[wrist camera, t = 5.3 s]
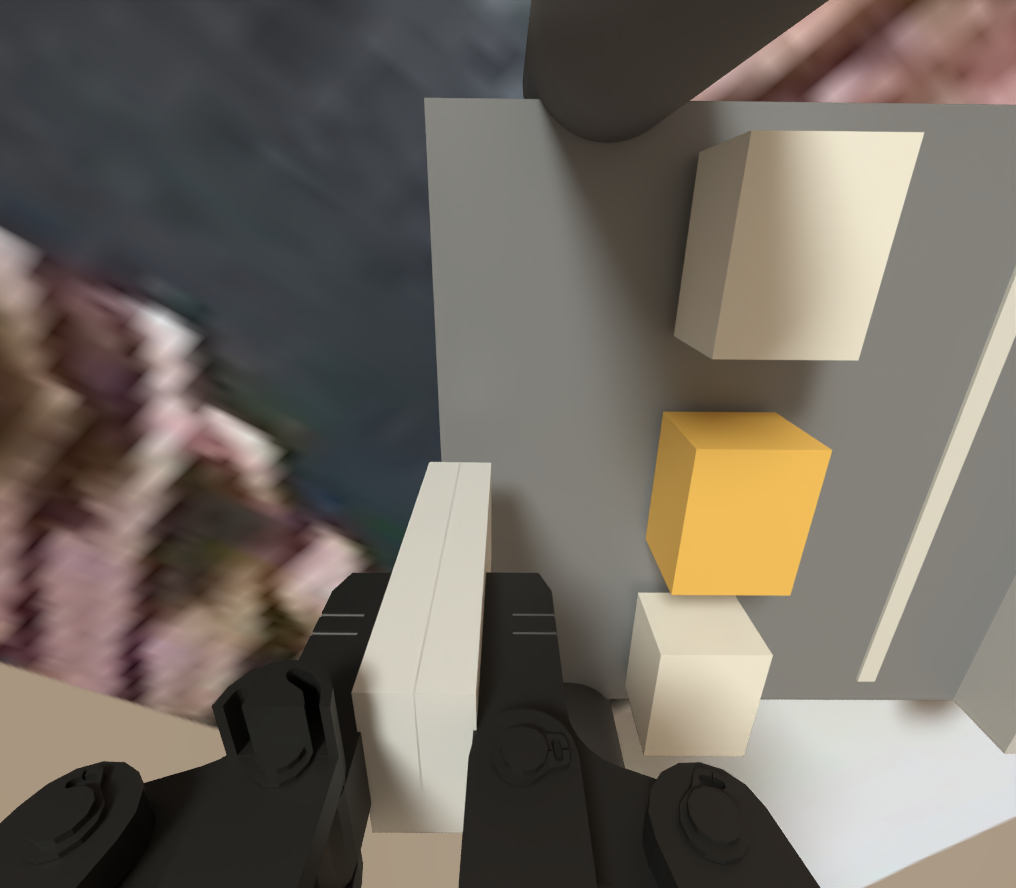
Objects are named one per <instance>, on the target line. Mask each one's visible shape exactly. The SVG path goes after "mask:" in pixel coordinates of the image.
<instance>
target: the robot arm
mask: <svg viewBox="0 0 1016 888" xmlns="http://www.w3.org/2000/svg"><path fill="white" fill-rule="evenodd" d="M212 709H213V712H214V715H215V718H216V722H217V725H218V728H219V731H220V735H221V738H222V741H223V744H224V747H225V751H226V754H227V755H226V756H225V757H223V758H221V759H219V760H217V761H214V762H212V763H209V764H206V765H204V766H201V767H198V768H194V769H191V770H187V771H184V772H181V773H177V774H174V775H170V776H167V777H163V778H161V779H157V780H153V781H150V782H146V783H143V781H142V778H141V776H140V773H139V772H138V771H137V770H135V769H134V768H133V767H131V766H130V765H128V764H126V763H125V762H105V761H103V762H100V763H96V764H93V765H89V766H85V767H82V768H78V769H76V770H74V771H72V772H70V773H68V774H66V775H64V776H62V777H60V778H58V779H56V780H54V781H53V782H51V783H49V784H47V785H46V786H44V787H43V788H42V789H40V790H39V791H38V792H37V793H35V794H34V795H33V796H31V797H30V798H29V799H28V800H26V801H25V802H24V803H22V804H21V805H20V806H19V807H17V808H16V809H15V810H14V811H13V812H12V813H11V814H10V815H9V816H8V817H7V818H5V819H4V820H3V821H2V822H1V823H0V888H361V884H362V871H363V862H362V855H361V846H362V841H363V837H364V833H365V828H366V824H367V820H368V816H369V812H370V818H371V824H372V831H373V832H406V833H408V832H409V833H412V832H414V833H415V832H416V833H463V836H462V849H461V862H460V875H459V888H820V886H819V885H818V884H817V882H816V881H815V879H814V878H813V876H812V875H811V873H810V872H809V870H808V869H807V867H806V866H805V864H804V863H803V861H802V860H801V858H800V857H799V855H798V854H797V853H796V851H795V850H794V848H793V847H792V845H791V844H790V842H789V841H788V839H787V838H786V836H785V835H784V833H783V832H782V830H781V829H780V827H779V826H778V825H777V823H776V822H775V820H774V819H773V817H772V816H771V814H770V813H769V811H768V810H767V808H766V807H765V806H764V805H763V804H762V802H761V801H760V800H759V799H758V798H757V797H756V796H755V795H754V793H753V792H752V791H751V790H750V789H749V788H748V787H747V785H745V784H744V783H742V782H741V781H739V780H738V779H736V778H735V777H733V776H732V775H730V774H729V773H727V772H726V771H724V770H722V769H719V768H716V767H713V766H710V765H707V764H703V763H700V762H697V763H678V764H676V765H674V766H672V767H670V768H668V769H667V770H665V771H663V772H661V774H660V775H659V777H658V778H657V779H654V778H651V777H648V776H645V775H642V774H640V773H637V772H634V771H631V770H628V769H625V768H622V767H619V766H617V765H615V764H613V763H610V762H608V761H606V760H604V759H602V758H601V757H599V756H598V755H597V754H595V753H594V752H593V751H591V750H590V749H589V748H588V747H587V746H586V745H585V744H584V743H583V742H582V740H581V739H580V738H579V737H578V736H577V734H576V732H575V730H574V728H573V727H572V725H571V723H570V720H569V716H568V712H567V707H566V699H565V691H564V684H563V676H562V668H561V660H560V652H559V644H558V636H557V628H556V620H555V615H554V605H553V597H552V591H551V589H550V588H549V587H548V585H547V584H546V582H545V581H544V580H543V578H542V577H541V576H540V574H539V573H500V572H491V463H478V462H429V465H428V468H427V471H426V474H425V477H424V480H423V483H422V486H421V489H420V492H419V495H418V498H417V501H416V503H415V506H414V509H413V512H412V515H411V518H410V521H409V524H408V527H407V530H406V533H405V536H404V539H403V542H402V545H401V548H400V551H399V554H398V557H397V560H396V563H395V565H394V568H393V571H392V573H352V574H351V575H350V576H348V577H347V578H346V579H345V580H344V581H343V582H342V583H341V584H340V585H339V586H338V587H336V588H335V589H334V590H333V591H332V593H331V595H330V597H329V599H328V601H327V603H326V605H325V607H324V609H323V611H322V617H320V618H319V620H318V622H317V624H316V626H315V628H314V630H313V635H312V636H310V638H309V640H308V642H307V644H306V646H305V648H304V650H303V652H302V654H301V657H300V659H299V661H298V660H289V661H282V662H275V663H271V664H268V665H266V666H263V667H261V668H258V669H256V670H253V671H251V672H249V673H247V674H246V675H244V676H243V677H242V678H240V679H239V680H237V681H236V682H234V683H233V684H232V685H230V686H229V687H228V688H227V689H226V690H225V691H224V692H223V693H222V695H221V696H220V697H219V698H218V699H217V701H216V702H215V703H214V704H213V705H212Z"/></svg>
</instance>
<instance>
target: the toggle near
mask: <svg viewBox="0 0 1016 888" xmlns="http://www.w3.org/2000/svg"><path fill="white" fill-rule="evenodd" d="M923 136H924V132H861V131H774V130H751V131H749V132H746V133H744V134H741V135H739V136H737V137H734V138H732V139H729V140H727V141H725V142H722V143H720V144H718V145H715V146H713V147H710V148H708V149H706V150H703V151H701V152H699V158H698V165H697V172H696V180H695V187H694V194H693V201H692V208H691V216H690V223H689V230H688V237H687V244H686V252H685V259H684V266H683V273H682V280H681V287H680V295H679V302H678V309H677V316H676V323H675V331H674V336H675V337H676V338H678V339H679V340H681V341H683V342H684V343H686V344H688V345H689V346H691V347H693V348H694V349H696V350H698V351H699V352H701V353H702V354H704V355H706V356H707V357H709V358H711V359H732V360H857V361H858V360H859V357H860V353H861V350H862V346H863V343H864V339H865V336H866V332H867V329H868V325H869V322H870V319H871V315H872V312H873V308H874V305H875V301H876V298H877V294H878V291H879V287H880V284H881V281H882V277H883V274H884V270H885V267H886V263H887V260H888V256H889V253H890V249H891V246H892V243H893V239H894V236H895V232H896V229H897V225H898V222H899V218H900V215H901V211H902V208H903V205H904V201H905V198H906V194H907V191H908V187H909V184H910V180H911V177H912V173H913V170H914V167H915V163H916V160H917V156H918V153H919V149H920V146H921V142H922V139H923Z"/></svg>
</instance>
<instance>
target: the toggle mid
mask: <svg viewBox="0 0 1016 888" xmlns="http://www.w3.org/2000/svg"><path fill="white" fill-rule="evenodd" d="M831 453H832V450H831V449H830V448H828V447H827V446H825V445H824V444H822V443H821V442H819V441H818V440H816V439H815V438H813V437H812V436H810V435H809V434H807V433H806V432H804V431H803V430H801V429H800V428H798V427H797V426H795V425H794V424H792V423H791V422H789V421H788V420H786V419H785V418H783V417H782V416H780V415H779V414H777V413H776V412H663V417H662V424H661V431H660V438H659V446H658V453H657V460H656V467H655V474H654V482H653V489H652V496H651V503H650V510H649V517H648V525H647V532H646V541H647V543H648V545H649V547H650V549H651V552H652V554H653V556H654V558H655V560H656V563H657V565H658V567H659V569H660V571H661V573H662V576H663V578H664V580H665V582H666V584H667V587H668V589H669V591H670V593H671V595H774V596H790V595H791V591H792V588H793V584H794V581H795V578H796V574H797V571H798V567H799V564H800V560H801V557H802V553H803V550H804V546H805V543H806V540H807V536H808V533H809V529H810V526H811V522H812V519H813V515H814V512H815V508H816V505H817V502H818V498H819V495H820V491H821V488H822V484H823V481H824V477H825V474H826V470H827V467H828V464H829V460H830V457H831Z"/></svg>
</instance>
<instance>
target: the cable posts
mask: <svg viewBox="0 0 1016 888" xmlns="http://www.w3.org/2000/svg"><path fill="white" fill-rule="evenodd" d="M827 1H828V0H531V9H530V18H529V27H528V36H527V45H526V54H525V63H524V73H523V95H524V99H541V101H542V103H543V105H544V106H545V108H546V109H547V110H548V112H549V113H550V115H551V116H552V117H553V118H554V119H555V120H556V121H557V122H558V123H559V124H560V125H561V126H563V127H564V128H565V129H566V130H568V131H569V132H571V133H573V134H574V135H576V136H579V137H581V138H583V139H586V140H590V141H594V142H602V143H612V142H620V141H625V140H629V139H631V138H634V137H637V136H639V135H641V134H643V133H645V132H646V131H648V130H650V129H651V128H652V127H654V126H655V125H657V124H658V123H659V122H661V121H662V120H664V119H665V118H666V117H668V116H669V115H670V114H672V113H673V112H675V111H676V110H677V109H679V108H680V107H682V106H683V105H684V104H686V103H687V102H688V101H690V100H691V99H693V98H694V97H695V96H697V95H698V94H700V93H701V92H702V91H704V90H705V89H706V88H708V87H709V86H711V85H712V84H713V83H715V82H716V81H718V80H719V79H720V78H722V77H723V76H724V75H726V74H727V73H729V72H730V71H731V70H733V69H734V68H736V67H737V66H738V65H740V64H741V63H742V62H744V61H745V60H747V59H748V58H749V57H751V56H752V55H754V54H755V53H756V52H758V51H759V50H760V49H762V48H763V47H765V46H766V45H767V44H769V43H770V42H771V41H773V40H774V39H776V38H777V37H778V36H780V35H781V34H783V33H784V32H785V31H787V30H788V29H789V28H791V27H792V26H794V25H795V24H796V23H798V22H799V21H801V20H802V19H803V18H805V17H806V16H807V15H809V14H810V13H812V12H813V11H814V10H816V9H817V8H819V7H820V6H821V5H823V4H824V3H825V2H827ZM563 684H564V691H565V699H566V707H567V712H568V716H569V720H570V723H571V725H572V727H573V728H574V730H575V732H576V734H577V736H578V737H579V738H580V739H581V740H582V742H583V743H584V744H585V745H586V746H587V747H588V748H589V749H590V750H591V751H593V752H594V753H595V754H597V755H598V756H599V757H601V758H602V759H604V760H606V761H608V762H610V763H613V764H615V765H617V766H619V767H622V768H625V767H624V762H623V758H622V753H621V749H620V744H619V740H618V735H617V731H616V726H615V722H614V717H613V713H612V708H611V704H610V699H606V698H605V697H604V696H603V695H602V694H601V693H599V692H598V691H597V690H595V689H593V688H591V687H588V686H585V685H582V684H577V683H563Z"/></svg>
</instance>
